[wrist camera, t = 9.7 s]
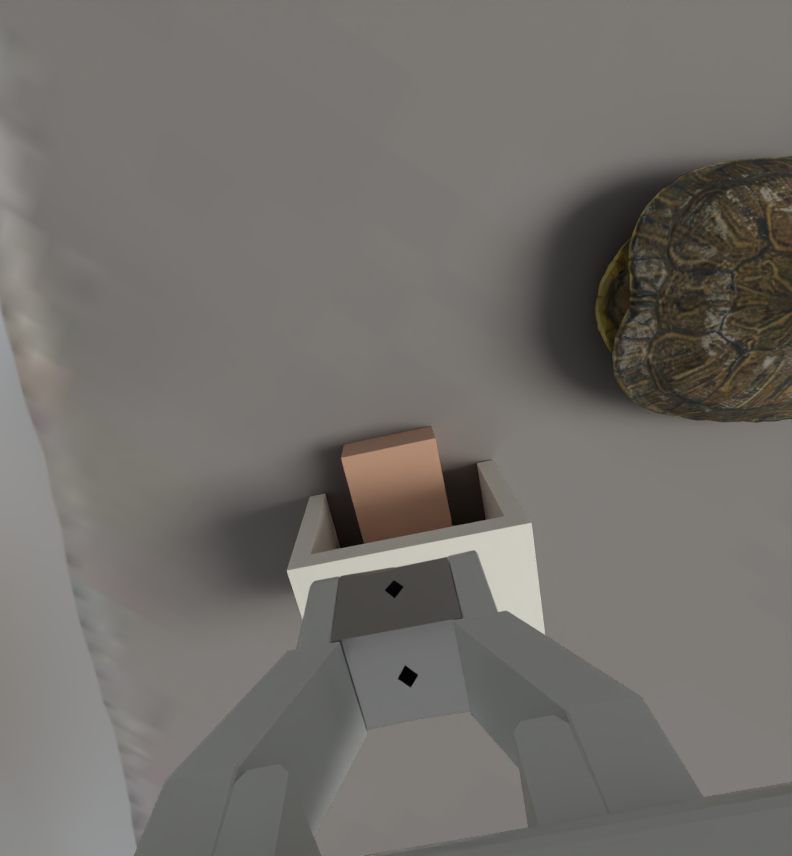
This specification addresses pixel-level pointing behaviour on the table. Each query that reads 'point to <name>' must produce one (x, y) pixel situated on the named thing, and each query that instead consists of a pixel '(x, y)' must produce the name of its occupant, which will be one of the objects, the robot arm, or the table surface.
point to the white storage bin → (432, 549)
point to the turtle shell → (707, 296)
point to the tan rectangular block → (396, 485)
